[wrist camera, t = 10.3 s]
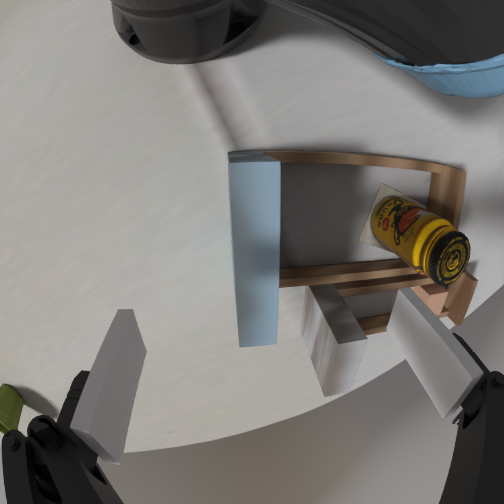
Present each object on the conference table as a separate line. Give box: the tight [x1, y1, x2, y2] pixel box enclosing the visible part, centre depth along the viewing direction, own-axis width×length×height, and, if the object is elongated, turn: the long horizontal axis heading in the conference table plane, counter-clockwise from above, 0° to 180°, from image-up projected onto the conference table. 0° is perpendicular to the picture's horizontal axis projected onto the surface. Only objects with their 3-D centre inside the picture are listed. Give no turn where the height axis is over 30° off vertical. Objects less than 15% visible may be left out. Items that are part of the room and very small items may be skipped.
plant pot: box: [0, 384, 24, 434], centre depth 35 cm, size 12×12×11 cm
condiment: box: [358, 183, 470, 286], centre depth 25 cm, size 7×8×12 cm
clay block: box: [412, 283, 448, 315], centre depth 34 cm, size 4×4×4 cm
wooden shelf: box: [228, 151, 466, 347], centre depth 24 cm, size 26×14×11 cm, turn 91°
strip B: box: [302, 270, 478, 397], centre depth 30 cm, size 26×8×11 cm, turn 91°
